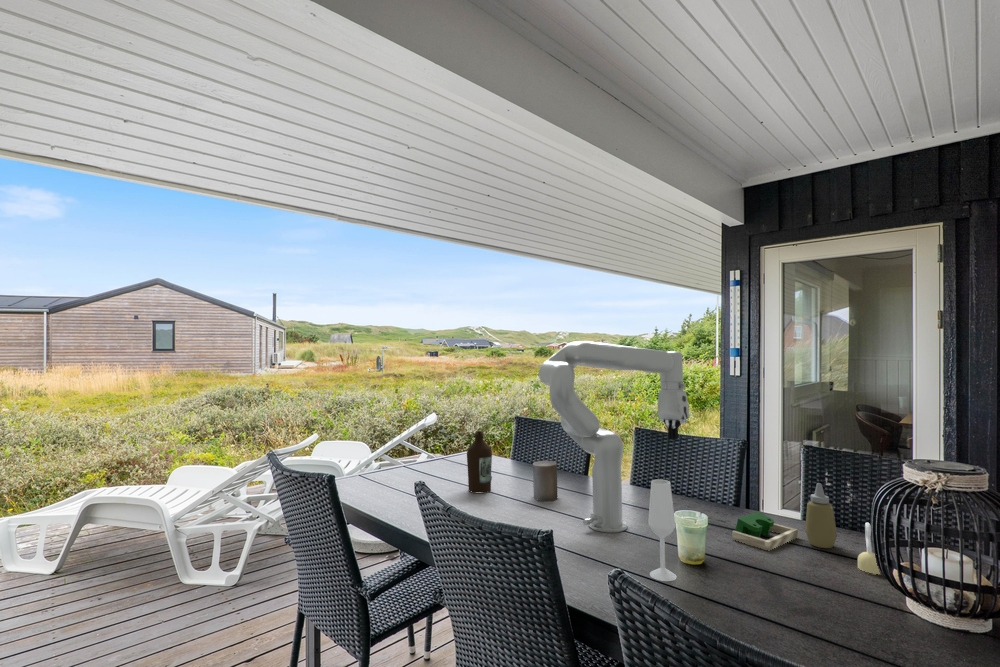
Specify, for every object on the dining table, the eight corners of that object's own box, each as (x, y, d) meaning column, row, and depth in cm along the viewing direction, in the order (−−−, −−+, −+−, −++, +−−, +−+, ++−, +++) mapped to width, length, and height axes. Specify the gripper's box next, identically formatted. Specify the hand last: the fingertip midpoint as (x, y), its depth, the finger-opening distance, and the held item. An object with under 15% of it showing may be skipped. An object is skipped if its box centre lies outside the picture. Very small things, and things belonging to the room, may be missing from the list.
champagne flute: (655, 567, 136) (653, 477, 137) (680, 574, 131) (678, 481, 132) (645, 576, 131) (643, 482, 131) (670, 583, 126) (668, 486, 127)
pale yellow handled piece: (883, 576, 129) (881, 528, 129) (858, 571, 132) (856, 525, 132) (881, 567, 134) (879, 521, 134) (856, 563, 137) (855, 518, 137)
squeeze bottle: (833, 541, 152) (830, 481, 153) (841, 551, 145) (839, 488, 145) (802, 538, 155) (800, 479, 155) (809, 548, 147) (807, 486, 148)
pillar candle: (561, 496, 203) (560, 458, 204) (550, 502, 195) (549, 463, 196) (540, 493, 209) (539, 456, 209) (528, 499, 200) (527, 461, 201)
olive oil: (462, 490, 214) (461, 431, 215) (480, 485, 221) (480, 428, 222) (478, 495, 206) (478, 433, 207) (497, 490, 214) (496, 430, 215)
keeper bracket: (769, 551, 146) (768, 542, 146) (732, 539, 155) (731, 531, 155) (798, 537, 156) (797, 529, 156) (761, 527, 165) (761, 519, 165)
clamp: (753, 554, 155) (753, 531, 151) (735, 543, 160) (734, 521, 156) (776, 532, 160) (775, 510, 157) (758, 522, 165) (757, 501, 162)
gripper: (697, 387, 174) (698, 441, 173) (660, 385, 186) (662, 435, 185) (683, 388, 169) (685, 443, 169) (647, 386, 181) (648, 437, 181)
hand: (673, 439), depth 177 cm, fingers closed
